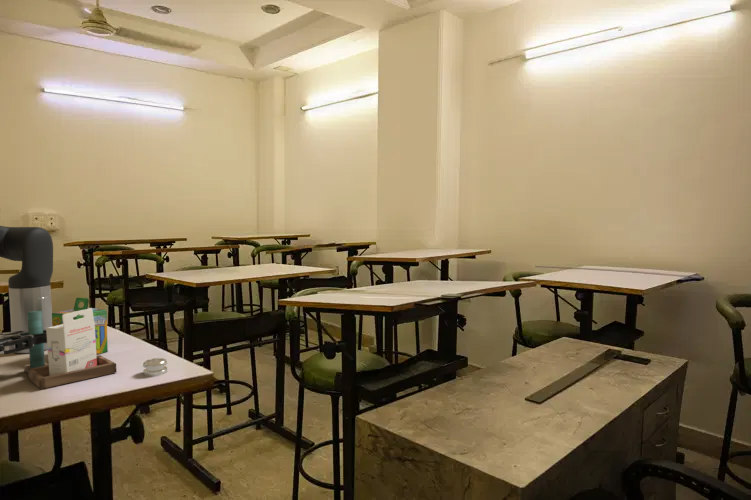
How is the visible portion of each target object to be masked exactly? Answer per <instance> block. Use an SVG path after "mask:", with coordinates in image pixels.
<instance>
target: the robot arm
mask: <svg viewBox="0 0 751 500" xmlns="http://www.w3.org/2000/svg"><path fill="white" fill-rule="evenodd" d="M53 243H54V242H53V239H52V236H51V233H49V231H48V230H47V229H45V228H43V227H41V226H40V227H39V226H3V225H0V258H2V259H6V260H9V261H14V262H21V269H20V271H19V272H17V273H15V274H14V275H11V276H9V278H8V281H7V282H8V299H9V313H10V317H9V318H10V331H6V332H5V331H4V332H0V355H3V354H4V355H10V354H13V353H15V354H26V353H27V354H28V353H29V349H30V348H33V346H34V345H35V344H41V343H44V351H48V347H47V333H46V328H48V327H52V313H53V308H52V307H53V306H52V290H51V289H52V287H51V278H52V276H53V272H54V244H53ZM31 311H42V321H43V333H40V334H34V335H32V334H30V335H28V319H27V312H31Z"/></svg>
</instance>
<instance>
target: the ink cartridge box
mask: <svg viewBox="0 0 751 500" xmlns="http://www.w3.org/2000/svg"><path fill="white" fill-rule="evenodd" d="M88 308H89V309H85V310H80V311H76V312H71V313H67V314H63V315H62V320H63V324H61V325H57V326H53V327H48V328H46V333H47V347H48V349H47V358H48V359H47V361H48V364H49V376H51V375H56V374H60V373H67V372H70V371H75V370H80V369H84V368H89V367H94V366H97V356H98V355H96V339H95V322H94V317H93V310H92V308H93V307H88ZM77 315H80V316H81V315H83V316H84V317H83V318H80V319H76V320H73V317H76V316H77Z"/></svg>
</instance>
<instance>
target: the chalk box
mask: <svg viewBox="0 0 751 500" xmlns="http://www.w3.org/2000/svg"><path fill="white" fill-rule="evenodd" d="M74 302H75V303H74V305H73V309H69V310H62V311H61V310H60V311H55V312H52V327H53V326H57V325H61V324H63V320H62V315H63V314H67V313H71V312H76V311H80V310H85V309H89V308H90V307H89V303H90V298H88V297H76V298H75V301H74ZM80 303H83V306H82V307H80V305H79V304H80ZM91 308H92V310H93V317H94V322H95V339H96V356H98V355H101V354H105V353H108V352H109V350H108V345H109V344H108V311H107V310H106V309H103V308H95V307H91ZM83 317H84V316H83V315H81V316H80V315H77V316H76V317H73V320H76V319H80V318H83Z"/></svg>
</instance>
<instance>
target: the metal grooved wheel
mask: <svg viewBox="0 0 751 500" xmlns="http://www.w3.org/2000/svg"><path fill="white" fill-rule="evenodd" d="M167 364H168V361H167V359H166V358H164V357H155V358H150V359H146V360H145V361H144V362H143V363H142V367H143V368H144V369H143V370H142V371H143V373H142V374H143V376H144V377H159V376H161V375H165V374H167V373H168V367H167V366H166V365H167Z"/></svg>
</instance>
